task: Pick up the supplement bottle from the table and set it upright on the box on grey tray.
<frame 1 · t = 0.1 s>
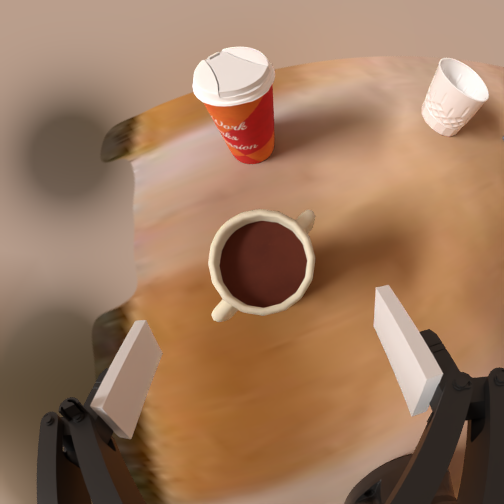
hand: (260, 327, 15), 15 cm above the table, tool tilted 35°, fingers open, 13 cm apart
paper cup: (253, 146, 34), on the table
white cup: (439, 119, 32), on the table
character mug: (274, 279, 31), on the table
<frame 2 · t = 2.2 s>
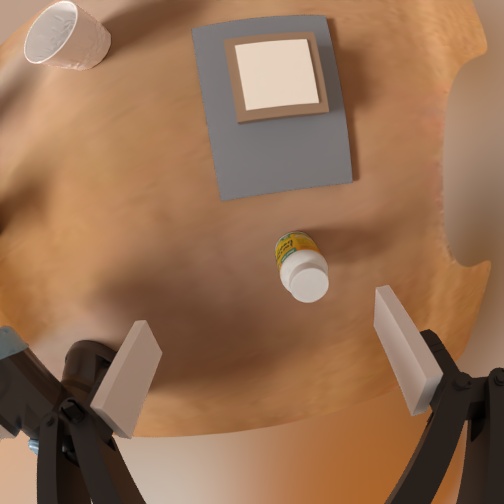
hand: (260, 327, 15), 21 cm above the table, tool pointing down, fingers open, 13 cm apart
box on grey tray: (274, 99, 29), on the table
white cup: (91, 48, 25), on the table
supplement bottle: (294, 249, 37), on the table
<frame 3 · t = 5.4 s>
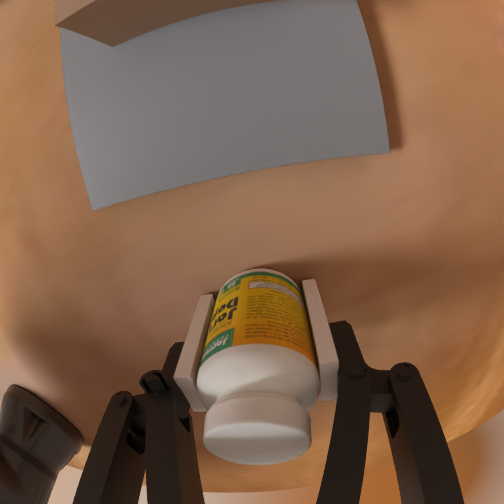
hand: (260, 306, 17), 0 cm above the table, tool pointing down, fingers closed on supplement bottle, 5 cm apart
supplement bottle: (260, 301, 17), on the table, touching gripper
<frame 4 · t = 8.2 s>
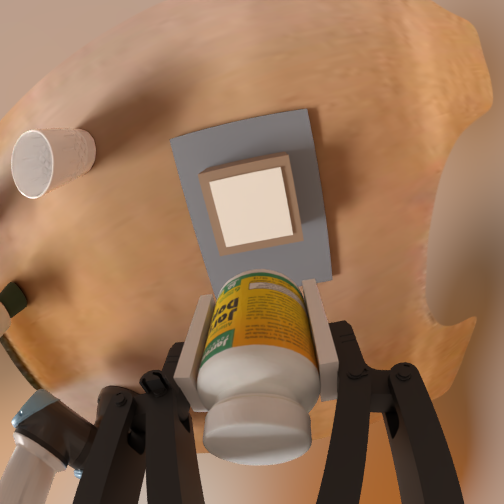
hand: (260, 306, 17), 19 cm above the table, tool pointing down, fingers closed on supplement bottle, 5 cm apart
box on grey tray: (257, 210, 34), on the table
white cup: (78, 152, 31), on the table
supplement bottle: (260, 302, 17), point 19 cm above the table, touching gripper
character mug: (19, 293, 42), on the table
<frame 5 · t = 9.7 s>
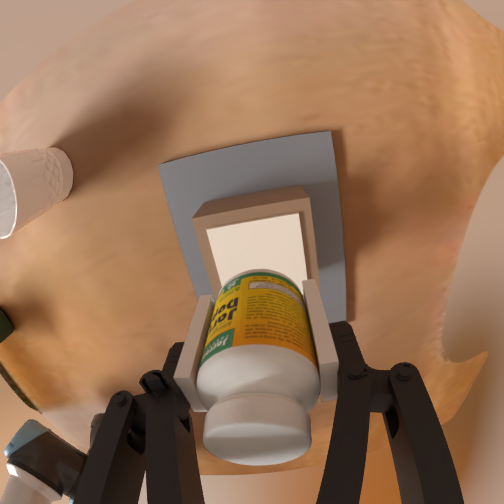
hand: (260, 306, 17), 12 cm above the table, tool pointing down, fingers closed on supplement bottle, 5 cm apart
box on grey tray: (264, 252, 29), on the table
white cup: (54, 174, 26), on the table
supplement bottle: (260, 302, 17), point 12 cm above the table, touching gripper
character mug: (4, 317, 37), on the table
when the fingers open (8 cm above the table, at t = 11.1 s): supplement bottle drops 2 cm, resting on box on grey tray.
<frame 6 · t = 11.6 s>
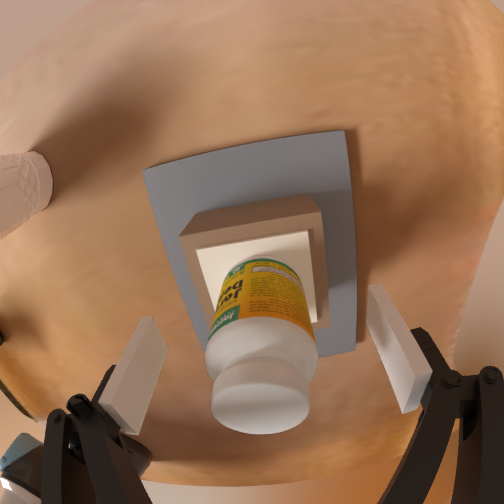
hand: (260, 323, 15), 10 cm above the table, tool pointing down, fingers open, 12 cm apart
box on grey tray: (265, 270, 25), on the table
white cup: (34, 181, 22), on the table
supplement bottle: (262, 287, 19), point 6 cm above the table, touching box on grey tray
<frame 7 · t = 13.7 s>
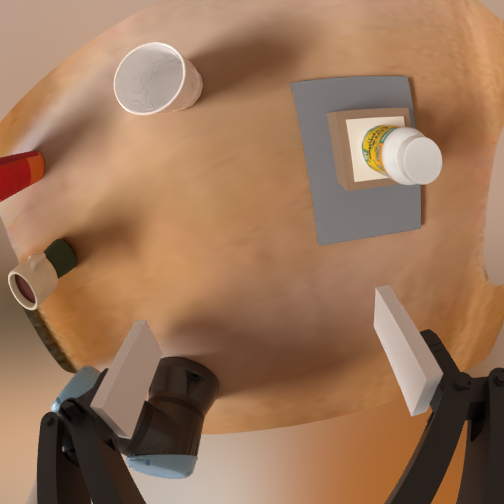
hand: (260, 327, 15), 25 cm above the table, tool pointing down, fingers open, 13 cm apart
box on grey tray: (365, 158, 33), on the table
paper cup: (36, 166, 36), on the table
white cup: (178, 87, 31), on the table
supplement bottle: (380, 148, 27), point 6 cm above the table, touching box on grey tray
character mug: (65, 253, 43), on the table
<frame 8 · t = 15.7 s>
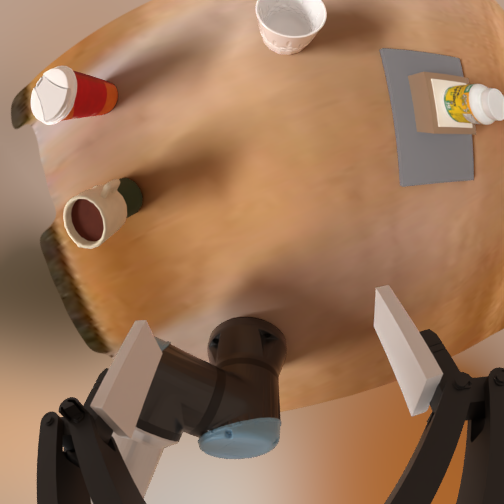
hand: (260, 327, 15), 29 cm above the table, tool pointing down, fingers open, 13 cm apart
box on grey tray: (433, 116, 34), on the table
paper cup: (104, 98, 35), on the table
white cup: (285, 35, 31), on the table
supplement bottle: (453, 104, 27), point 6 cm above the table, touching box on grey tray
character mug: (127, 195, 42), on the table
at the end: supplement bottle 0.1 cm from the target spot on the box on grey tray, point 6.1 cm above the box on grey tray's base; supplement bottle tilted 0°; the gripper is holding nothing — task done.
